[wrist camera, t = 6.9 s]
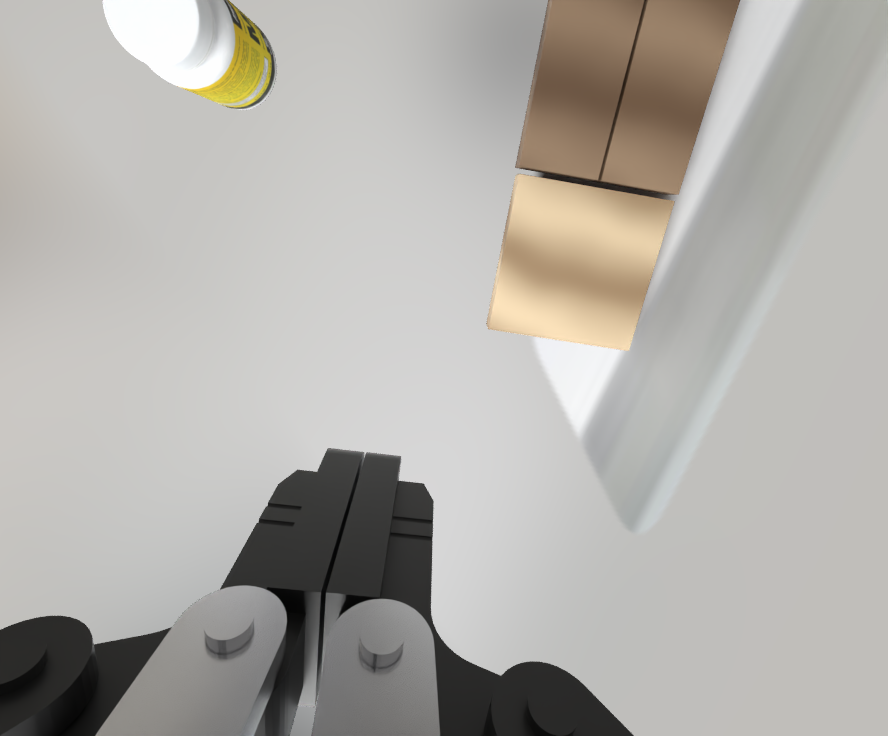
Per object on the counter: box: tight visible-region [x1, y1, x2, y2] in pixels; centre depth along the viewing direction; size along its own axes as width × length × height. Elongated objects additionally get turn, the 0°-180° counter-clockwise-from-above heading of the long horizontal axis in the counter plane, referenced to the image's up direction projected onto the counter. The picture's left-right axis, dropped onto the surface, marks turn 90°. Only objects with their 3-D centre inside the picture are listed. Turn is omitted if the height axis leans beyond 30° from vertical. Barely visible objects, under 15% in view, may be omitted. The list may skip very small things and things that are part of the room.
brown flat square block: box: [515, 0, 740, 195], centre depth 26 cm, size 10×10×2 cm
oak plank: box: [486, 174, 675, 351], centre depth 30 cm, size 10×10×2 cm
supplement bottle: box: [103, 0, 276, 110], centre depth 23 cm, size 5×5×8 cm
